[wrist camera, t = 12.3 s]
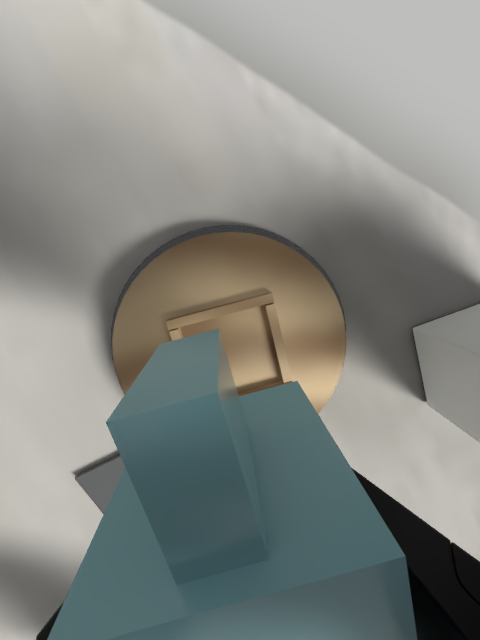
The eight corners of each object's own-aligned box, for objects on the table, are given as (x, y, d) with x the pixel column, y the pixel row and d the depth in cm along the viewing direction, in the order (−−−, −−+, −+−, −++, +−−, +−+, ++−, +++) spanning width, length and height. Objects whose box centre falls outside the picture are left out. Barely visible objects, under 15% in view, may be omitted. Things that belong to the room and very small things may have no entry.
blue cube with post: (324, 502, 10) (435, 762, 5) (191, 538, 10) (161, 839, 5) (278, 296, 8) (378, 367, 3) (113, 340, 8) (-75, 489, 3)
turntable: (356, 416, 21) (399, 467, 16) (159, 468, 21) (140, 537, 16) (320, 205, 17) (361, 184, 12) (80, 268, 17) (20, 274, 12)
